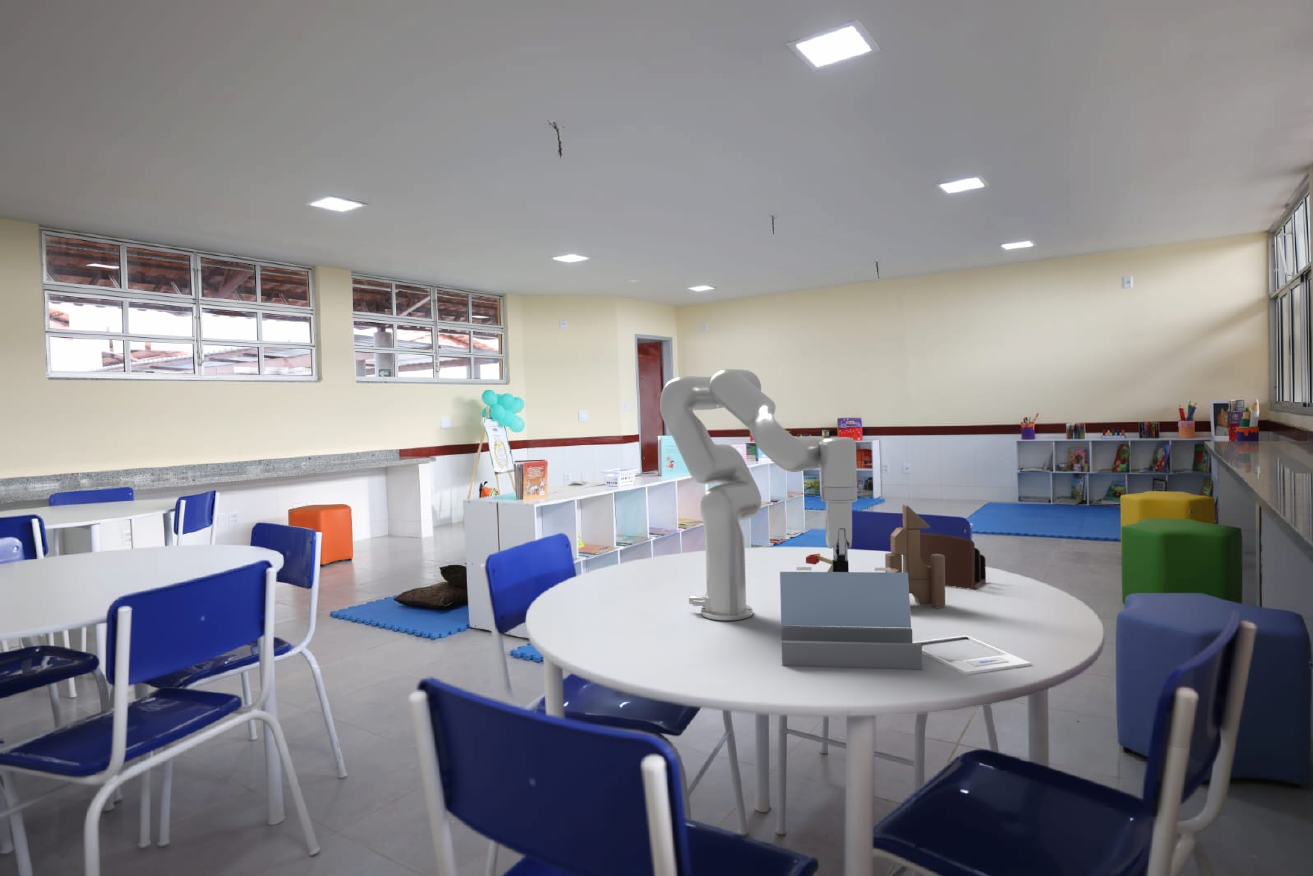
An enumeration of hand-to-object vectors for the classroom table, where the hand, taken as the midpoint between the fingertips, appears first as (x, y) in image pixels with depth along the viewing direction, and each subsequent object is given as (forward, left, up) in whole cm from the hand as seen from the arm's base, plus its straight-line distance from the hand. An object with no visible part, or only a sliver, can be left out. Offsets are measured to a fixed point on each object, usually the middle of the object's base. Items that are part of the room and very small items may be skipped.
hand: (840, 578), depth 158 cm
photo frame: (+23, -11, -13) cm, 29 cm away
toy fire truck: (+1, +39, -13) cm, 41 cm away
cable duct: (0, -14, -13) cm, 19 cm away
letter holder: (+32, +52, -13) cm, 63 cm away
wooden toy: (+19, +25, -13) cm, 34 cm away
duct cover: (0, -8, -2) cm, 9 cm away
